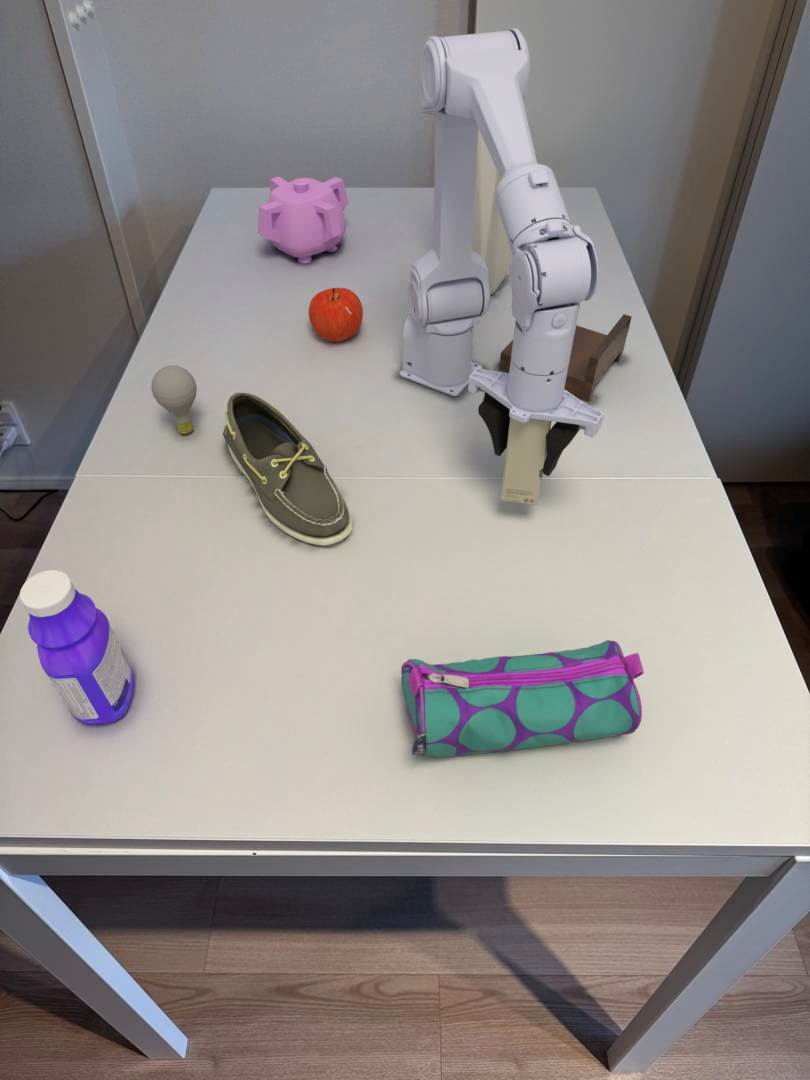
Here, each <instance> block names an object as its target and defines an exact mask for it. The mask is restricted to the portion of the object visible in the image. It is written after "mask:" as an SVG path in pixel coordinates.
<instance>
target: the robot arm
mask: <svg viewBox="0 0 810 1080" xmlns="http://www.w3.org/2000/svg"><path fill="white" fill-rule="evenodd" d="M529 51H530V50H529V47H528V43H527V41H526V38H525V37H524V36H523V33H522V32H521V31H520V30H519V29H518V28H516V27H513V28H508V29H507V30H501V31H500V30H498V31H490V32H478V33H468V34H460V35H447V36H437V35H431V36H429V37H428V38H427V40H426V41H425V43H424V44H423V46H422V49H421V51H420V54H419V105H420V112H421V113H422V114H425V115H430V116H433V120H434V162H433V163H434V166H433V214H432V216H433V219H432V220H433V221H432V225H433V226H432V247H431V248H430V249H428V250H427V251H426V252H425V253H424V254H422V255H421V256H420V257H418V258H417V259H416V260H415V261H414V262H413V263H412V264H411V269H410V277H409V282H408V286H407V299H408V306H409V311H410V313H409V314H408V316H407V318H406V319H405V322H404V325H403V327H402V334H401V359H402V361H401V365H402V367H401V369H402V370H400V371H399V376H400V378H403V379H407V380H409V381H411V382H414V383H417V384H419V385H421V386H422V385H423V386H425V387H428V388H431V389H433V390H436V391H438V392H441V393H443V394H446V395H448V396H451V397H458V396H459V395H460V394H461V392H462V391H463V390H465V388H466V387H467V392H470V393H472V394H478V393H479V392H481V393H483V398H482V402H481V403H480V404H479V405H478V409H477V410H478V415H479V417H480V418H481V419H482V421H483V422H484V424H485V426H486V428H487V430H488V432H489V435H490V439H491V442H492V447H493V453H494V455H495V456H497V457H499V458H500V457H501V456H502V454H503V453H504V452H506V449H507V440H508V432H509V424H510V418H512V419H515V420H517V421H520V422H523V423H524V422H527V421H529V419H539V420H546V421H552V422H553V423H554V422H555V423H554V424H553V425H552V427H551V428H550V430H549V432H548V433H547V434H546V443H547V451H546V457H545V463H544V468H543V475H544V476H546V477H550V476H551V474H552V473H553V472H554V470H555V469H556V467H557V464H558V462H559V460H560V458H561V455H562V454H563V452H564V450H565V449H567V447H568V446H569V445H570V444H571V443H572V441H573V440H574V438H575V437H576V436H577V434H579V432H580V430H583V434H584V436H586V437H590V438H591V439H594V438H595V436H596V435H597V434H598V432H599V431H600V429H601V428H602V424H603V420H604V417H605V413H604V412H602V411H600V410H598V409H595V408H594V407H592V406H590V405H588V404H587V403H586V402H584V401H583V400H582V399H579V398H577V397H575V396H574V395H572V394H571V393H569V392H568V391H566V390H565V389H564V387H565V382H566V377H567V371H568V366H569V361H570V355H571V350H572V345H573V339H574V334H575V328H576V325H577V323H578V317H579V314H580V313H579V312H580V307H581V304H580V303H583V302H585V301H586V302H587V301H590V300H591V299H592V298H593V296H594V295H595V293H596V291H597V287H598V283H599V261H598V256H597V252H596V249H595V244H594V242H593V241H592V239H591V237H590V236H589V235H587V233H583V230H582V229H581V227H580V225H578V224H572V221H571V218H570V216H569V213H568V210H567V207H566V204H565V201H564V199H563V195H562V192H561V190H560V187H559V184H558V182H557V178H556V175H555V173H554V171H553V169H551V168H550V167H549V166H547V165H546V164H542V163H538V159H537V156H536V155H537V154H536V151H535V145H534V143H533V138H532V134H531V129H530V125H529V121H528V115H527V112H526V109H525V103H524V101H525V98H526V93H527V89H528V82H529V77H530V69H531V68H530V67H531V65H530V64H531V63H530V52H529ZM478 128H479V130H480V133H481V135H482V137H483V139H484V142H485V144H486V146H487V149H488V151H489V153H490V155H491V158H492V160H493V162H494V165H495V167H496V169H497V171H498V174H499V176H500V178H501V181H500V183H499V184H498V186H497V189H496V191H495V201H496V204H497V207H498V210H499V214H500V217H501V220H502V223H503V226H504V229H505V232H506V236H507V239H508V242H509V245H510V248H511V251H512V254H513V259H512V262H510V271H509V279H510V280H509V281H510V287H511V306H510V307H511V314H512V316H513V317H514V319H515V320H514V329H513V339H512V340H513V346H512V354H511V363H510V371H509V373H506V372H503V371H494V370H488V369H484V368H483V366H482V365H481V364H479V363H477V362H473V361H472V360H473V348H474V347H473V345H474V334H475V333H474V330H475V326H476V325H479V323H480V317H483V316H485V315H486V314H487V312H488V310H489V308H490V304H491V295H490V288H489V279H488V275H489V271H488V268H487V266H486V264H485V261H484V260H483V258H482V257H481V256H480V255H479V254H478V253H476V252H474V251H473V250H471V249H472V232H473V214H474V197H475V180H476V162H477V145H478Z"/></svg>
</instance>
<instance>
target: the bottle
mask: <svg viewBox="0 0 810 1080" xmlns="http://www.w3.org/2000/svg"><path fill="white" fill-rule="evenodd" d="M19 600H20V602H21V603H22V605H23V608H24V609H25V611H26V613H27V614H28V616H29V619H28V624H27V630H28V634H29V637H30V639H31V640H32V641H33V643H35V644H36V650H37V654H38V659H39V664H40V666H41V668H42V669H43V671H44V672H45V674H46V676H47V677H48V678H49V680H50V682H51V683H52V685H53V686H54V688H55V689H56V691H57V692H58V694H59V695H60V697H61V699H62V700H63V702H64V703H65V705H66V706H67V708H68V709H69V711H70V712H71V715H72V717H74V719H75V720H77V721H78V722H79V723H81V724H83V725H84V724H85V725H88V726H95V725H108V724H111V723H114V722H116V721H118V720H121V718H122V717H124V715H125V714H126V712H128V711H127V710H128V709H129V707H130V704H131V702H132V698H133V694H134V686H135V680H134V679H135V678H134V671H133V667H132V666H131V663H130V662H129V660H128V658H127V655H126V653H125V652H124V650H123V648H122V646H121V644H120V642H119V640H118V638H117V636H116V634H115V632H114V630H113V628H112V626H111V624H110V622H109V621H110V620H109V618H108V617H107V615H106V614H105V613H104V611H102V610H101V609H99V608H97V607H96V604H95V602H94V601H93V599H92V598H91V597H89V596H88V595H86V594H83V593H80V592H79V591H78V590H77V589H76V586H75V584H74V583H73V582H72V580H71V578H70V576H69V575H68V574H67V573H66V572H64V571H61V570H58V569H49V570H44V571H40V572H38V573H36V574H34V575H32V576H31V577H29V578H28V579H27V580H26V581H25V582H24V584H22V587H21V589H20V592H19Z"/></svg>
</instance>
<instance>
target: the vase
mask: <svg viewBox="0 0 810 1080" xmlns="http://www.w3.org/2000/svg"><path fill="white" fill-rule="evenodd" d="M500 181H501V178H500V176H499V174H498V171H497V169H496V167H495V165H494V162H493V160H492V158H491V155H490V153H489V151H488V149H487V146H486V144H485V142H484V139H483V137H482V135H481V133H480V130H479V128H478V145H477V162H476V180H475V197H474V214H473V232H472V249H471V250H473V251H474V252H476V253H478V254H479V255H480V256H481V257H482V258H483V260H484V261H485V264H486V266H487V268H488V271H489V275H488V279H489V288H490V296H491V295H494V294H495V293H496V291H497V290H498V289H499V287H500V286H501V284H502V283H503V282H504V280H505V278H506V277H507V275H509V273H510V262H512V259H513V254H512V251H511V248H510V245H509V242H508V239H507V236H506V232H505V229H504V226H503V223H502V220H501V217H500V214H499V210H498V207H497V204H496V201H495V191H496V189H497V186H498V184H499V183H500Z"/></svg>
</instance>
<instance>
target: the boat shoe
mask: <svg viewBox="0 0 810 1080" xmlns="http://www.w3.org/2000/svg"><path fill="white" fill-rule="evenodd" d="M224 412H225V413H224V416H225V417H224V418H225V422H226V426H225V427H224V429H223V432H222V436H223V439H224V441H225V442H226V445H227V448H228V451H229V455H230V456H231V458H232V460H233V462H234V463H235V465H236V466H237V468H238V469H239V470H240V472H241V473H242V474H243V475H244V476H245V477H246V478H247V481H249V483H250V485H251V486H252V488H253V490H254V492H255V494H256V497H257V499H258V502H259V504H260V506H261V508H262V510H263V512H264V513H265V515H266V517H267V518H268V519H269V520H270V521H271V523H273V524H274V525H275V526H276V527H277V528H279V529H280V530H281V531H283V532H284V533H286V534H287V535H289V536H291V537H293V538H294V539H297V540H298V541H302V542H305V543H308V544H311V545H316V546H329V545H333V544H336V543H339V542H341V541H343V540H344V539H346V538H347V537H348V536H350V534H351V533H352V531H353V528H354V520H353V515H352V512H351V510H350V507H349V505H348V504H347V502H346V500H345V499H344V497H343V495H342V494H341V493H340V491H339V488H338V486H337V484H336V483H335V482H334V480H333V478H332V477H331V475H330V474H329V472H328V468H327V465H325V464H324V462H323V461H322V460H321V459H320V457H319V455H318V454H317V452H316V449H315V448H314V446H313V444H311V442H310V441H309V440H308V439H307V438H306V437H305V436H303V434H302V433H301V432H300V431H299V430H298V429H297V428H296V427H295V426H294V425H293V424H292V423H291V422H290V420H289V419H288V418H286V417H285V415H283V414H282V412H281V411H280V410H279V409H278V408H276V407H275V406H273V405H272V404H271V403H269V402H268V401H267V400H265V399H264V398H260V397H259V396H257V395H255V394H251V393H249V392H235V393H233V394H232V395H231V396H230V397H229V399H228V401H227V405H226V410H225V411H224Z"/></svg>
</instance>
